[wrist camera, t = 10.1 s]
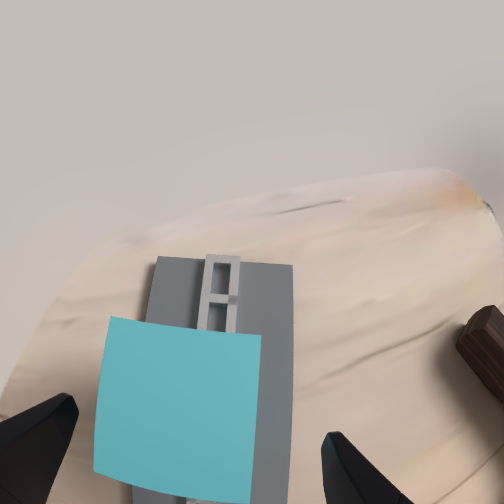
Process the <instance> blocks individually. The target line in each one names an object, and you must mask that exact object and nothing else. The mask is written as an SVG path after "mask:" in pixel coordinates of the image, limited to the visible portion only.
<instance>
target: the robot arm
mask: <svg viewBox="0 0 504 504" xmlns="http://www.w3.org/2000/svg"><path fill="white" fill-rule="evenodd" d="M78 416H79V410H78V407H77V405H76V403H75V400H74V398H73V397H72V396H71V395H69V394H67V393H60V394H58V395H56V396H54V397H52V398H50V399H48V400H46V401H44V402H42V403H40V404H38V405H36V406H34V407H32V408H30V409H28V410H26V411H24V412H22V413H20V414H17V415H15V416H13V417H11V418H9V419H7V420H5V421H2V422H0V504H46V501H47V498H48V495H49V493H50V490H51V487H52V485H53V482H54V480H55V477H56V475H57V472H58V470H59V467H60V465H61V463H62V460H63V458H64V456H65V453H66V451H67V449H68V446H69V443H70V441H71V437H72V434H73V431H74V428H75V425H76V422H77V419H78ZM321 456H322V472H323V486H324V492H325V497H326V502H327V504H414V503H413V502H412V501H410V500H409V499H408V498H407V497H406V496H405V495H404V494H403V493H401V492H400V491H399V490H398V489H397V488H396V487H395V486H394V485H393V484H392V483H391V482H390V481H389V480H388V479H387V478H386V477H385V476H384V475H382V474H381V473H380V472H379V471H378V470H377V469H376V468H375V467H374V466H373V465H372V464H371V463H370V462H369V461H368V460H367V459H366V458H365V457H364V456H363V455H362V454H361V453H360V452H359V451H358V450H357V449H356V447H355V446H354V445H353V444H352V443H351V442H350V441H349V440H348V439H347V438H346V437H345V436H344V435H343V434H342V433H341V432H339V431H336V432H329V433H327V435H326V437H325V439H324V441H323V444H322V446H321Z"/></svg>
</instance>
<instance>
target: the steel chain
mask: <svg viewBox="0 0 504 504" xmlns="http://www.w3.org/2000/svg"><path fill="white" fill-rule="evenodd" d="M214 268H229V269H231V271H230V282H229V294H228V295H224V294H212V286H213V277H214ZM239 273H240V256H226V255H211V254H206V260H205V267H204V274H203V282H202V290H201V298H200V306H199V315H198V324H197V329H198V330H207V331H208V324H209V314H210V306H217V307H227V319H226V332H227V333H235V332H236V316H237V301H238V287H239ZM198 503H202V504H226V502H216V501H207V500H200V499H193V498H187V497H186V504H198Z"/></svg>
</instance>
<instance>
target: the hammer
mask: <svg viewBox="0 0 504 504" xmlns="http://www.w3.org/2000/svg"><path fill="white" fill-rule="evenodd" d="M455 348H456V349H457V350H458V351H459V353H460V354H461V355H462V357H463V358H464V359H465V361H466V362H467V363H468V365H469V366H470V367H471V368H472V369H473V370H474V372H475V373H476V374H477V375H478V376H479V378H480V379H481V380H482V381H483V382H484V384H485V385H486V386H487V387H488V388H489V389H490V390H491V391H492V392H493V393H494V395H495V396H496V397H497V398H498V399H499V400H500V401H501V402H502V403H503V404H504V315H503V314H502V313H501V312H500V311H499V309H498V308H497V307H496V306H495V305H490V306H485V307H483V308H482V309H480V310H479V311H477V312H476V313H475V314H474V315H473V316H472V317H471V318H470V319H469V321H468V322H467V324H466V326H465V328H464V330H463V332H462V334H461V336H460V338H459V340H458V342H457V344H456V347H455Z"/></svg>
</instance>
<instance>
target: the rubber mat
mask: <svg viewBox="0 0 504 504" xmlns="http://www.w3.org/2000/svg"><path fill="white" fill-rule="evenodd" d="M205 260H206V259H191V258H177V257H163V256H158V258H157V262H156V267H155V271H154V276H153V281H152V286H151V291H150V296H149V301H148V307H147V312H146V318H145V322H147V323H153V324H160V325H167V326H174V327H182V328H190V329H197V324H198V315H199V306H200V298H201V290H202V282H203V274H204V267H205ZM230 271H231V269H229V268H214V277H213V286H212V294H224V295H228V294H229V282H230ZM226 319H227V307H217V306H210V314H209V324H208V331H217V332H226ZM235 333H239V334H252V335H261V350H260V366H259V383H258V398H257V414H256V428H255V442H254V456H253V469H252V481H251V494H250V504H287V495H288V482H289V467H290V450H291V429H292V401H293V268H292V265H284V264H268V263H252V262H240V273H239V287H238V301H237V316H236V332H235ZM132 502H133V504H186V497H181V496H176V495H171V494H166V493H162V492H157V491H153V490H149V489H145V488H142V487H138V486H134V485H132ZM198 504H202V503H198ZM226 504H241V503H226Z"/></svg>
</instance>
